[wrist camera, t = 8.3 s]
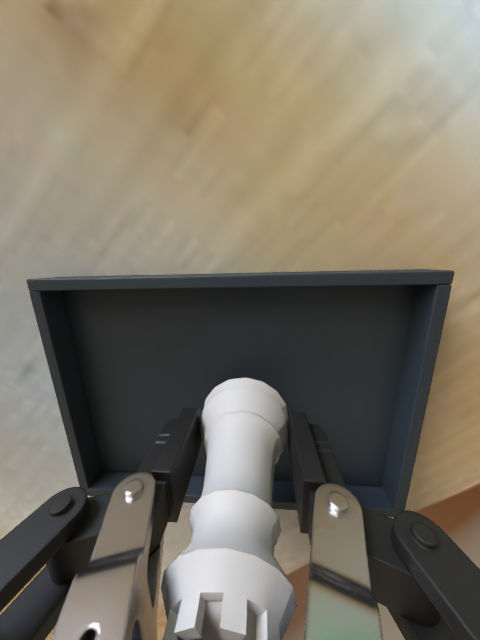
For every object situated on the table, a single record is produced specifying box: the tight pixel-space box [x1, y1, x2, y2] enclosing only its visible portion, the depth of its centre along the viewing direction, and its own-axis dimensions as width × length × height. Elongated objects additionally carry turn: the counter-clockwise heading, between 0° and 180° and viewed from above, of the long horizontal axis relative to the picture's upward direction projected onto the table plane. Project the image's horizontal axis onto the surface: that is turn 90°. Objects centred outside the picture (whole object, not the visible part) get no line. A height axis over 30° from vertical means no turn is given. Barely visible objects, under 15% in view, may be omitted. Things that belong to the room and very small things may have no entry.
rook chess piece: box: [161, 378, 296, 640], centre depth 8 cm, size 4×4×8 cm
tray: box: [27, 269, 454, 517], centre depth 13 cm, size 14×20×2 cm
